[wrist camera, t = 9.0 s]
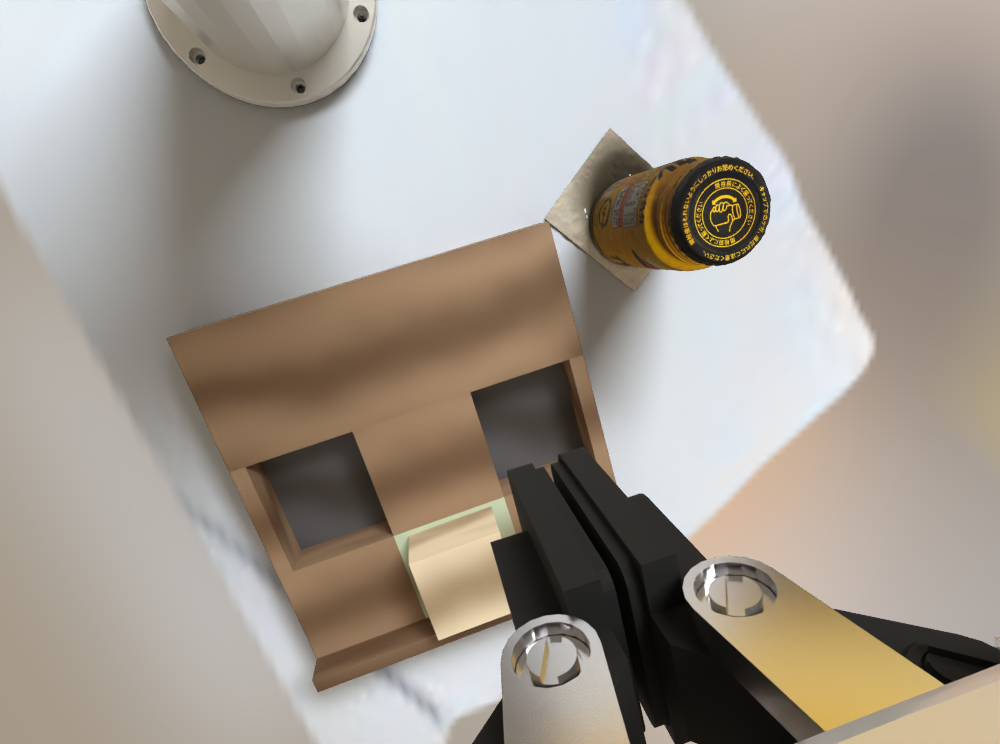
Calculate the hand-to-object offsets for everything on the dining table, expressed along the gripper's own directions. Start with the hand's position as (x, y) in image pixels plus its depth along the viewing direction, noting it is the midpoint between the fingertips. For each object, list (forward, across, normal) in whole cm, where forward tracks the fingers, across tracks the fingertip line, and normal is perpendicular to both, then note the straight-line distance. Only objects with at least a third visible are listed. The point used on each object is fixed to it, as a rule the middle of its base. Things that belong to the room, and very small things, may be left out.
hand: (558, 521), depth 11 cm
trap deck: (+27, +4, +8) cm, 28 cm away
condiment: (+27, -14, -4) cm, 31 cm away
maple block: (+24, +4, +16) cm, 29 cm away
